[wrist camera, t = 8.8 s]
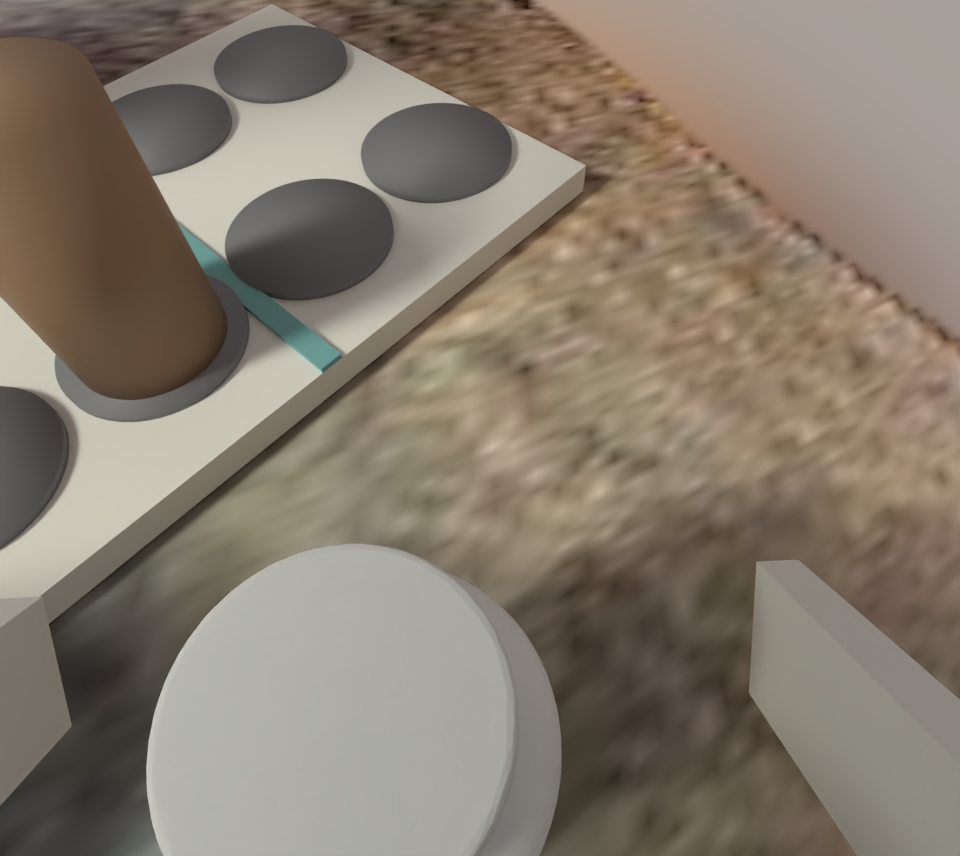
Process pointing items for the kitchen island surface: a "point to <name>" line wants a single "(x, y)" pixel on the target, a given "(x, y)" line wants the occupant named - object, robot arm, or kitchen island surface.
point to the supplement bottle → (355, 718)
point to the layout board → (217, 266)
